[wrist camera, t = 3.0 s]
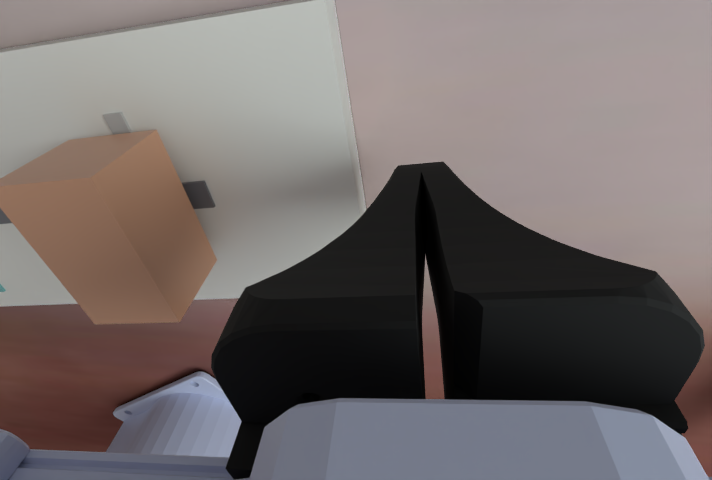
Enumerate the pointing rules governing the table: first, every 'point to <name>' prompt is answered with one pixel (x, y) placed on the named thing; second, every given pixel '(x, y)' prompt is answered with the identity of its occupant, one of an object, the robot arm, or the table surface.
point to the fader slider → (112, 226)
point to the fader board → (200, 131)
